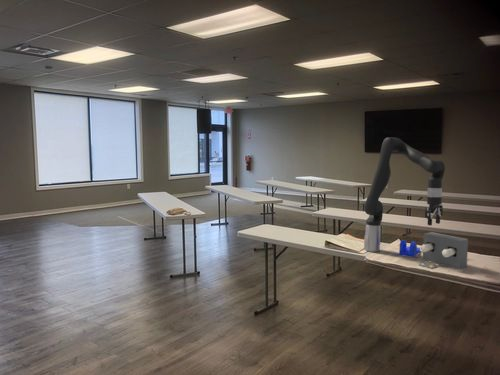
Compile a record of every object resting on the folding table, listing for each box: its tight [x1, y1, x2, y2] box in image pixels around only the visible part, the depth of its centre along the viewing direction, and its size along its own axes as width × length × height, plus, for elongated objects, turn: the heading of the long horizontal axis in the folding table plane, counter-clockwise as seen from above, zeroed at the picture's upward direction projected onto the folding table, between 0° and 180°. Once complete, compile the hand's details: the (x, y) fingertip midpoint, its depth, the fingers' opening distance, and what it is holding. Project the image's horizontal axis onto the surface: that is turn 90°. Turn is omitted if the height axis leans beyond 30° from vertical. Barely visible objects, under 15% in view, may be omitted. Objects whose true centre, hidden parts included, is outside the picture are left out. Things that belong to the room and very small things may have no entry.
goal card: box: [418, 262, 438, 270], centre depth 223 cm, size 6×8×1 cm
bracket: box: [398, 239, 421, 258], centre depth 250 cm, size 18×8×9 cm, turn 140°
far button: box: [420, 243, 435, 253], centre depth 230 cm, size 8×4×4 cm, turn 124°
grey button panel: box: [422, 231, 469, 270], centre depth 228 cm, size 8×22×16 cm, turn 34°
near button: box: [442, 248, 457, 257], centre depth 219 cm, size 8×4×4 cm, turn 124°
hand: (433, 224), depth 220 cm, fingers open, 8 cm apart
